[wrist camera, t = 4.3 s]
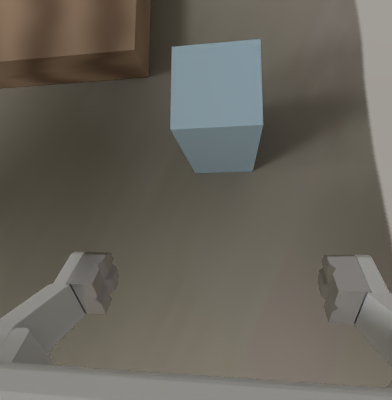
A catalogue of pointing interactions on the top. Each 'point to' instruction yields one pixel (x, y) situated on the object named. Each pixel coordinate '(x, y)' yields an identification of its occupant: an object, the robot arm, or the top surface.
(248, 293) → the top surface
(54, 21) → the walnut base
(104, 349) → the top surface
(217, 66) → the slate block
